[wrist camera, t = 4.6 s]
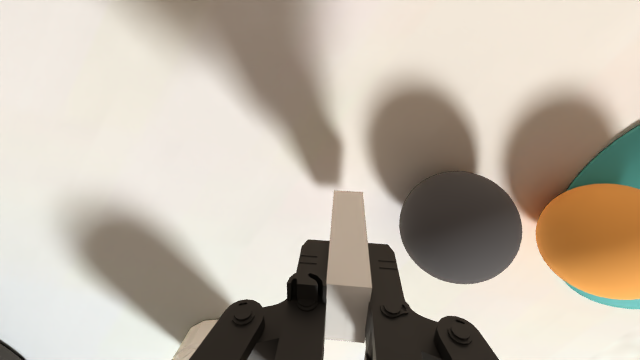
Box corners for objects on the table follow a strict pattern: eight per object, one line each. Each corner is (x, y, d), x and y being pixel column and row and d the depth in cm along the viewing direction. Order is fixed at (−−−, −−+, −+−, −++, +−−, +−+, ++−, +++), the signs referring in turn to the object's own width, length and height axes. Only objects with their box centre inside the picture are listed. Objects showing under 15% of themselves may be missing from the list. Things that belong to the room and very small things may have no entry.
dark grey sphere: (517, 324, 13) (493, 248, 18) (559, 216, 11) (519, 161, 15) (388, 294, 15) (398, 231, 19) (401, 193, 12) (409, 151, 17)
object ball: (500, 265, 17) (626, 347, 13) (534, 177, 14) (704, 241, 10) (552, 238, 19) (672, 299, 15) (589, 158, 17) (744, 204, 13)
